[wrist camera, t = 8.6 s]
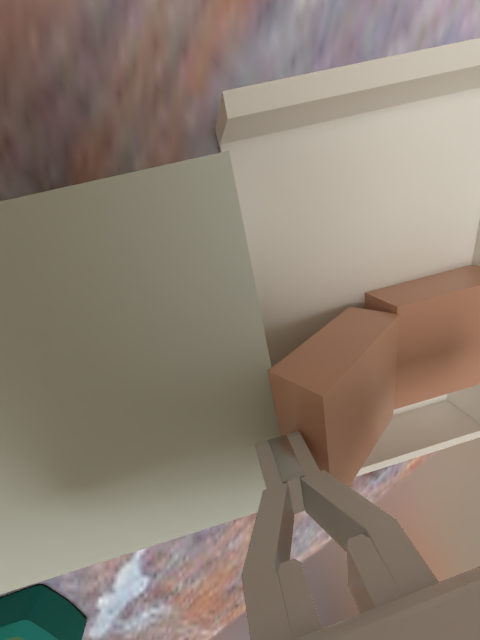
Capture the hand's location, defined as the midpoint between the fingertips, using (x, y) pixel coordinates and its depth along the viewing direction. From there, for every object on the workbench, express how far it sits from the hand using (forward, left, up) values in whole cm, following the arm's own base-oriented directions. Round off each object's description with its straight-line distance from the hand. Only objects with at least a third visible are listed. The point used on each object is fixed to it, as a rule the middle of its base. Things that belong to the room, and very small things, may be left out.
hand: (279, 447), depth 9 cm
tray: (-2, +7, -5) cm, 9 cm away
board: (-2, -7, -5) cm, 9 cm away
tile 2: (0, +3, -2) cm, 4 cm away
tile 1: (0, +9, -2) cm, 10 cm away
